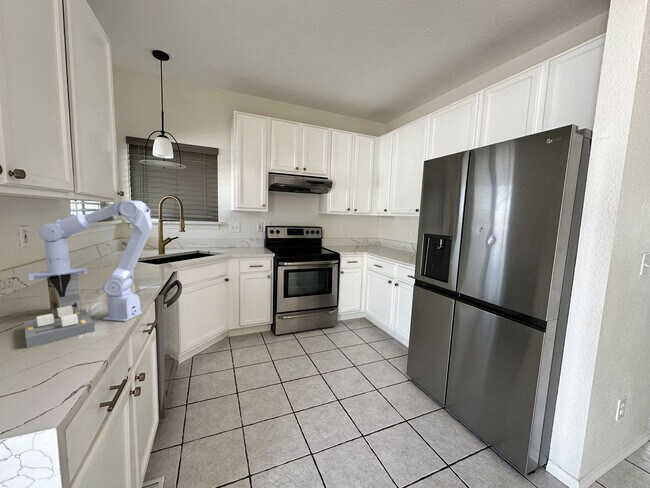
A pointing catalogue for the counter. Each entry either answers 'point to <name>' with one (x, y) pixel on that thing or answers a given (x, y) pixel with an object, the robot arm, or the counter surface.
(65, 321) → the switch near
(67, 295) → the coffee box
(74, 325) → the switch box
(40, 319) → the switch middle
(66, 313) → the switch far
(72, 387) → the counter surface
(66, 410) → the counter surface
